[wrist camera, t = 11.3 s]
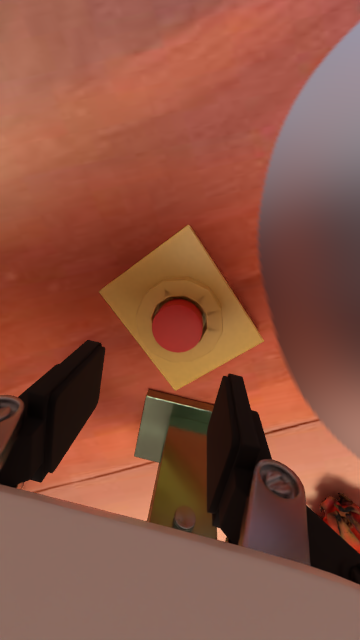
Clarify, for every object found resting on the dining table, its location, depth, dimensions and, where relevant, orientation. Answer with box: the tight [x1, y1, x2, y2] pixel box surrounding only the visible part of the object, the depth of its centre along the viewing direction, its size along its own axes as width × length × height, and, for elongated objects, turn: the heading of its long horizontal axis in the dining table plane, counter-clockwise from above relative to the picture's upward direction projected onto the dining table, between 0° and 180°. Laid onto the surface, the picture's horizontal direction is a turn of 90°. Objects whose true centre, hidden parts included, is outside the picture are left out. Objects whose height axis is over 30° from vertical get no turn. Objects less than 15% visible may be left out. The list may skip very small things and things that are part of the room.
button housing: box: [99, 225, 264, 391], centre depth 22 cm, size 11×9×4 cm
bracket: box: [134, 390, 217, 540], centre depth 22 cm, size 10×8×13 cm
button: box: [152, 299, 203, 353], centre depth 19 cm, size 4×4×2 cm
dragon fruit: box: [319, 493, 360, 554], centre depth 26 cm, size 8×8×12 cm
